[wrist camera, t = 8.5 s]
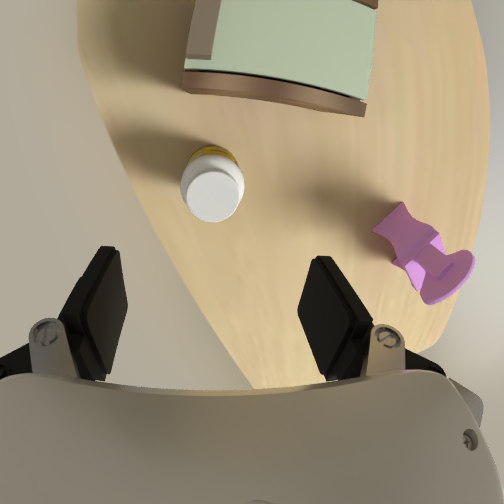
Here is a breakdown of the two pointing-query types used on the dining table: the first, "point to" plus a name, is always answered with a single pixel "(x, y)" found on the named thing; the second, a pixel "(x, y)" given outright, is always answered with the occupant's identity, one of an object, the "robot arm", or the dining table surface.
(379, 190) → the dining table surface
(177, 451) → the robot arm
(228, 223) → the dining table surface
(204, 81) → the box
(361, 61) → the lid
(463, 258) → the toy chair
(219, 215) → the supplement bottle
